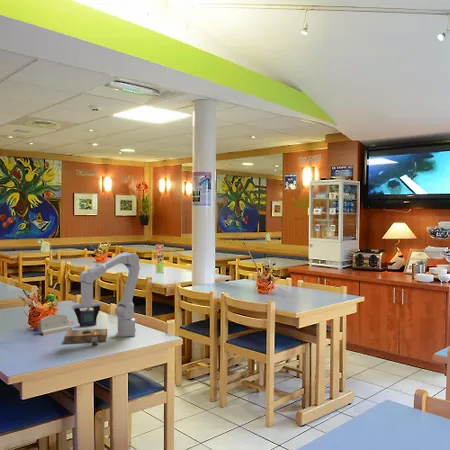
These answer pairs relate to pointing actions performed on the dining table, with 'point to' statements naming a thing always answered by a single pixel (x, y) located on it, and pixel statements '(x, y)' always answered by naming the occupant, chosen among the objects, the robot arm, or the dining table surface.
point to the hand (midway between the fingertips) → (87, 322)
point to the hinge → (54, 324)
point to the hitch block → (84, 336)
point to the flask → (87, 317)
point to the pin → (94, 338)
